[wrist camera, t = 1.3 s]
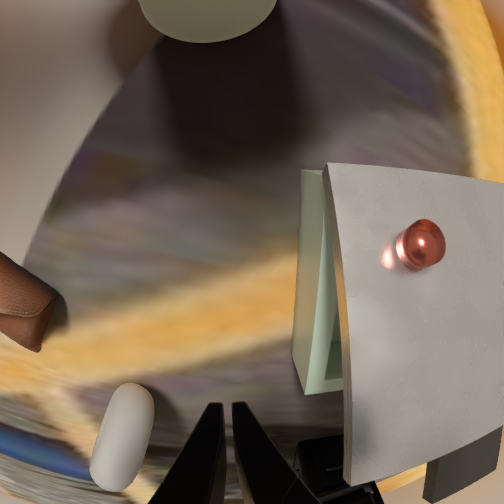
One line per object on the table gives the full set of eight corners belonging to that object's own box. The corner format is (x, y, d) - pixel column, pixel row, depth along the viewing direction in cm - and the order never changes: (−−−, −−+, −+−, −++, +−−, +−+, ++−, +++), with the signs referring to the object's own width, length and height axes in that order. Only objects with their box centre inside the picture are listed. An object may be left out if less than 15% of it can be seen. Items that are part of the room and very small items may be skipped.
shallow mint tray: (432, 332, 25) (461, 362, 20) (291, 352, 24) (304, 395, 19) (462, 182, 20) (504, 193, 16) (301, 169, 19) (325, 176, 14)
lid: (527, 437, 11) (548, 441, 9) (340, 524, 10) (356, 546, 8) (506, 191, 16) (525, 178, 14) (321, 173, 14) (335, 148, 12)
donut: (134, 429, 26) (117, 510, 16) (103, 415, 25) (78, 495, 16) (168, 370, 24) (151, 471, 14) (130, 353, 23) (96, 450, 13)
